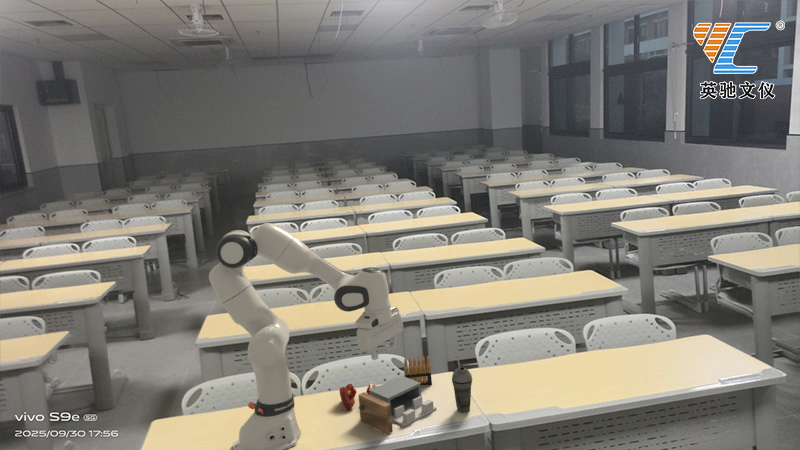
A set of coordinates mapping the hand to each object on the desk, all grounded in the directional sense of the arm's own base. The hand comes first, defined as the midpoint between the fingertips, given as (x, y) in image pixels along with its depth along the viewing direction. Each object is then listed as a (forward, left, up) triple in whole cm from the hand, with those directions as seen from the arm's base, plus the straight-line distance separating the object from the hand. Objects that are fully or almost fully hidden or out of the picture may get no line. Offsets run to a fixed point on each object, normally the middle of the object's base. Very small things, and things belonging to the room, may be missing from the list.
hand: (384, 353), depth 200 cm
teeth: (+3, +19, -26) cm, 32 cm away
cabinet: (+9, +3, -25) cm, 27 cm away
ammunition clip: (+27, +14, -25) cm, 40 cm away
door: (-5, +2, -25) cm, 26 cm away
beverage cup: (+23, -13, -25) cm, 37 cm away
